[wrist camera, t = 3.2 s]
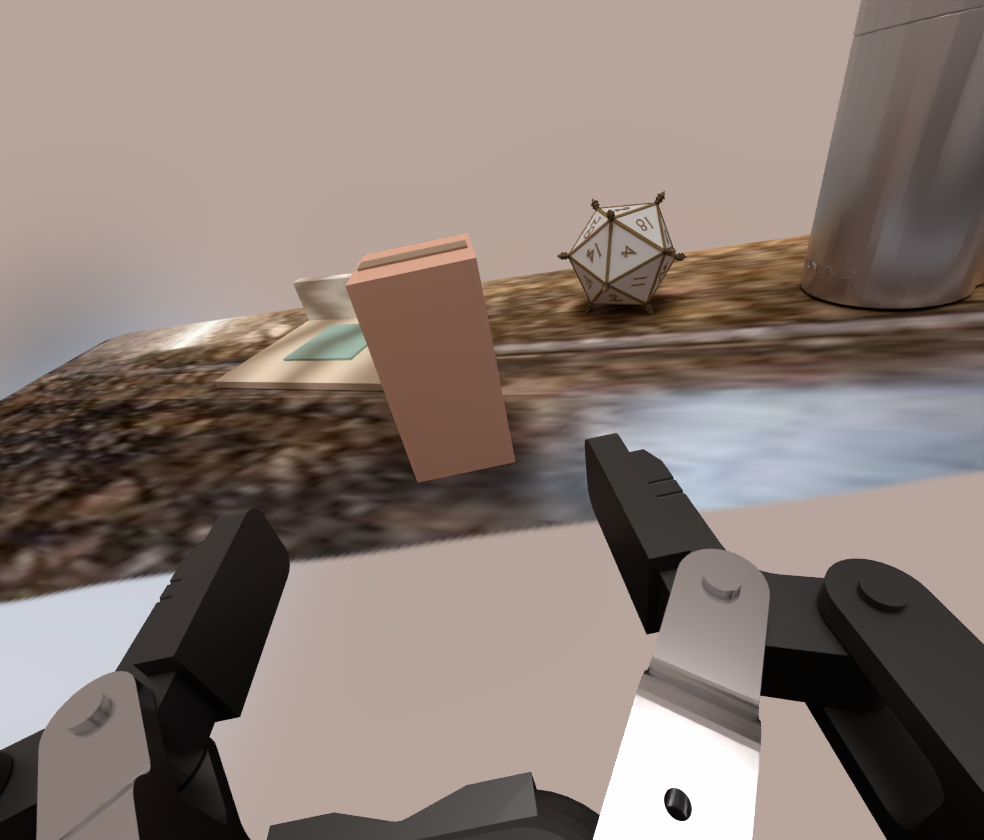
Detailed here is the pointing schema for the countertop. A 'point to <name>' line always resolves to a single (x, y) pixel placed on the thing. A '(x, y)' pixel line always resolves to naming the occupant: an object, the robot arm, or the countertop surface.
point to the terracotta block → (434, 354)
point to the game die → (623, 254)
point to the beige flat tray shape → (314, 347)
